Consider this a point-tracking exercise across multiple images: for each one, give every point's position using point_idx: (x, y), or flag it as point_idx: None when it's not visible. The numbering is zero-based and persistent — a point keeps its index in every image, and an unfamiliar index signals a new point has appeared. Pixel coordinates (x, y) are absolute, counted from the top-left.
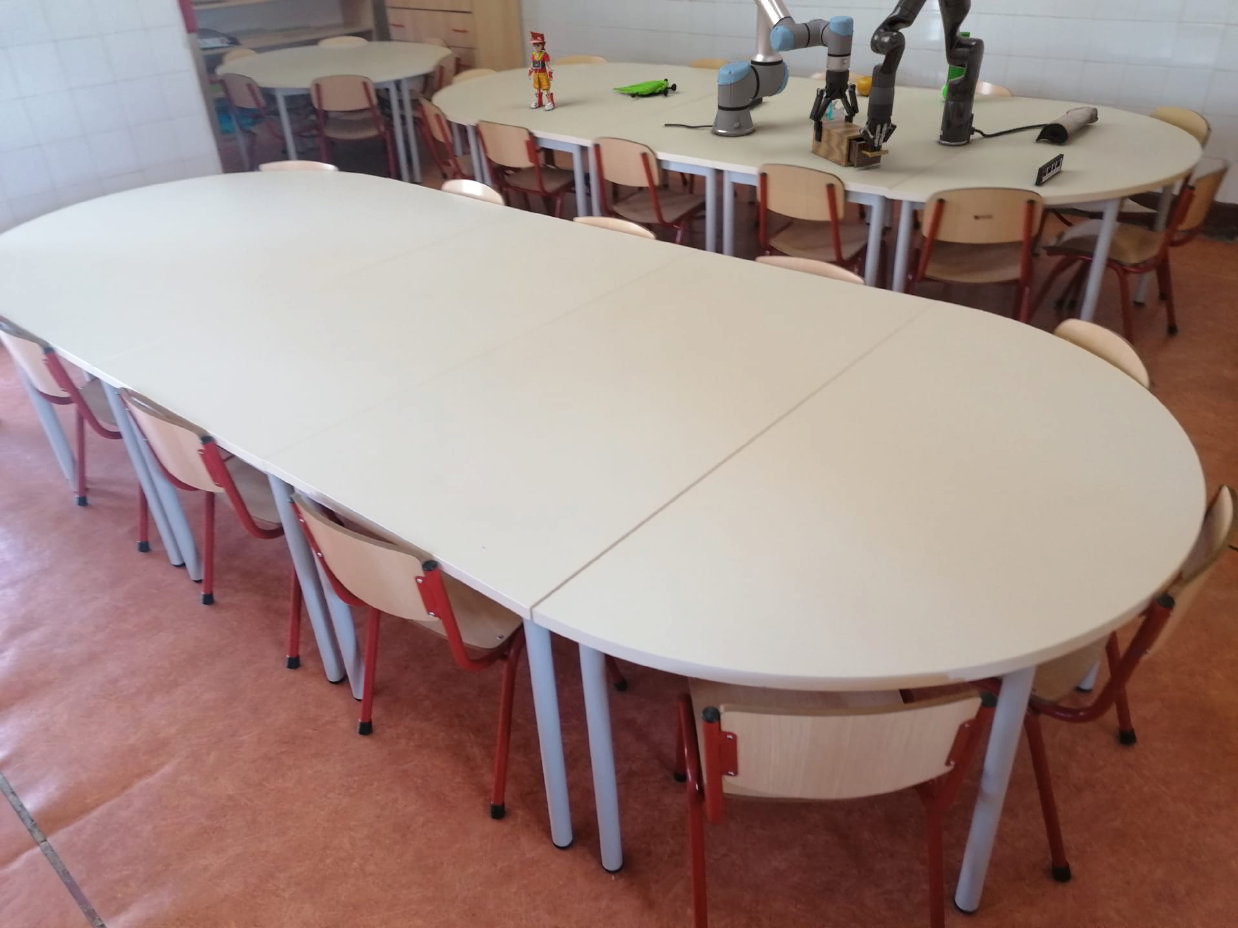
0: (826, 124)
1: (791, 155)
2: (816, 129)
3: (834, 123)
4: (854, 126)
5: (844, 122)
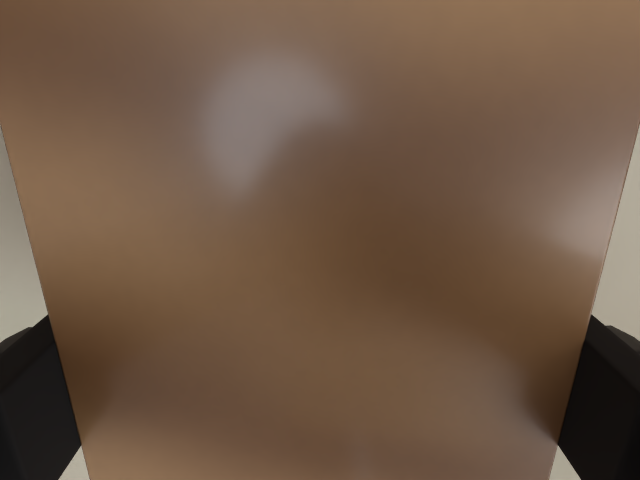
0: (450, 401)
1: (606, 323)
2: (637, 346)
3: (312, 385)
4: (84, 13)
5: (137, 355)
